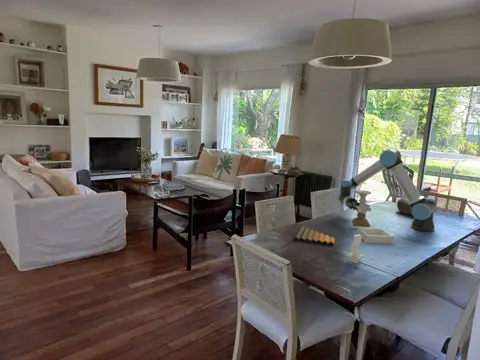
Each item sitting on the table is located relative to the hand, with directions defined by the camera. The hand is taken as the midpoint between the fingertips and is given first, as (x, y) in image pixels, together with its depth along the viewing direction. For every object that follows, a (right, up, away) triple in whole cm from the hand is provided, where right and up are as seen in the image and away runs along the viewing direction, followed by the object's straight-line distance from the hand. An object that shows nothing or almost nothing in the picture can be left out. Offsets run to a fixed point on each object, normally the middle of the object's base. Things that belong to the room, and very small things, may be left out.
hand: (365, 209), depth 241 cm
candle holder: (-1, -11, +7) cm, 13 cm away
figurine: (-24, -24, -50) cm, 60 cm away
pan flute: (-37, -18, -12) cm, 43 cm away
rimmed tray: (+2, -18, -11) cm, 21 cm away
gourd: (+59, -8, +55) cm, 81 cm away
